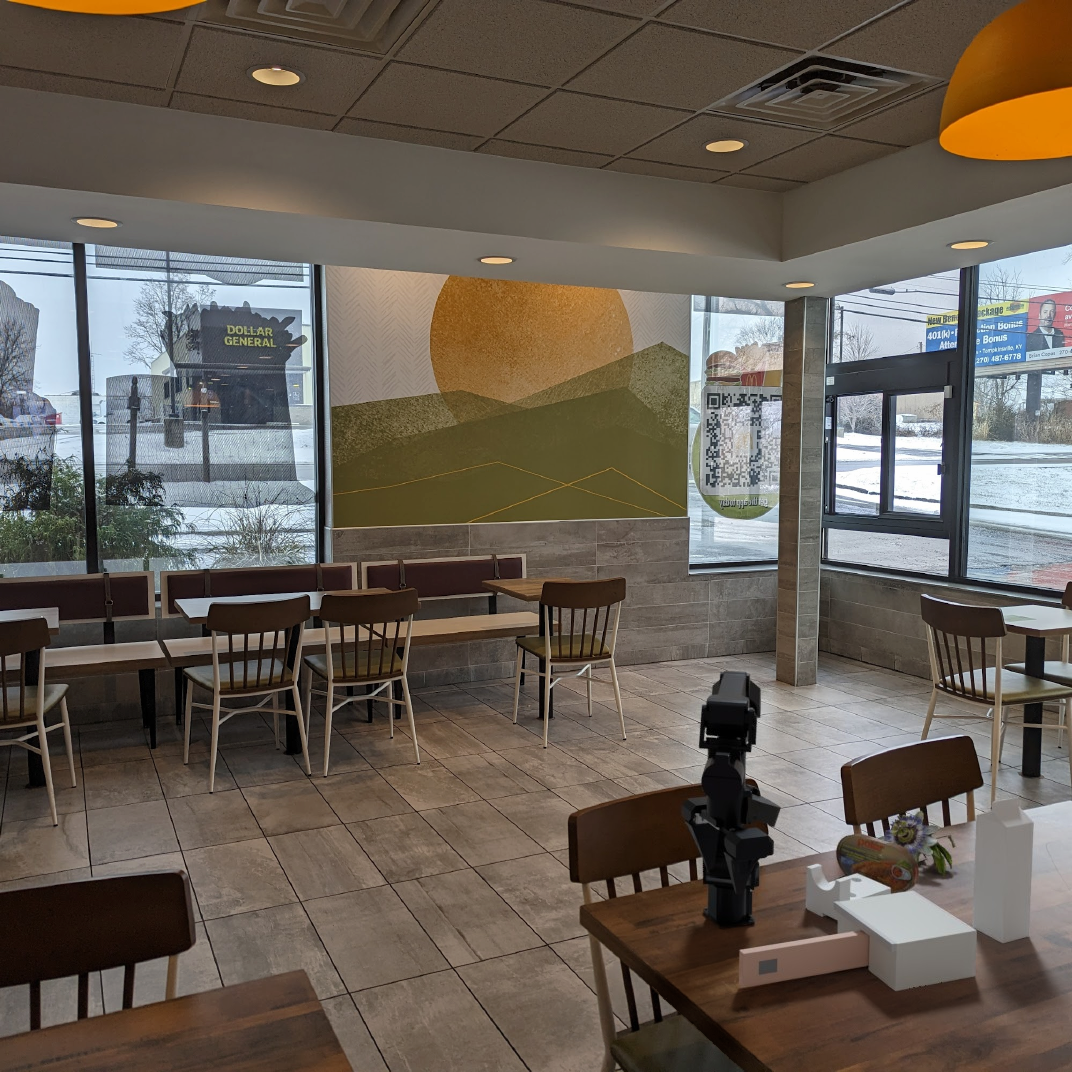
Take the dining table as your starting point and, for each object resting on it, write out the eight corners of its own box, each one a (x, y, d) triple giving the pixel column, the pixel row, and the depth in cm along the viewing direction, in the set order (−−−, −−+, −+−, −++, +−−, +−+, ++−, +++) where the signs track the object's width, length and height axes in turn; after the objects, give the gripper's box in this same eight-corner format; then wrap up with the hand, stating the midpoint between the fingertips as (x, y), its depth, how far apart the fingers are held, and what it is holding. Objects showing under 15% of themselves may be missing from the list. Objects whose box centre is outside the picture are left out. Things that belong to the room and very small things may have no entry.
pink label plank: (743, 987, 137) (743, 954, 137) (738, 983, 138) (739, 949, 138) (873, 964, 144) (874, 932, 143) (868, 960, 145) (869, 928, 144)
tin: (834, 873, 177) (835, 829, 177) (843, 869, 179) (845, 825, 179) (911, 901, 166) (912, 854, 165) (920, 896, 168) (921, 849, 167)
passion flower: (900, 895, 181) (863, 837, 184) (928, 869, 188) (892, 814, 191) (945, 880, 172) (906, 819, 176) (973, 854, 179) (935, 796, 183)
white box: (890, 992, 137) (892, 944, 137) (832, 945, 150) (833, 901, 150) (975, 976, 141) (976, 929, 141) (911, 932, 155) (913, 889, 154)
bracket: (838, 926, 157) (840, 882, 157) (805, 910, 163) (806, 866, 163) (890, 908, 164) (891, 865, 164) (856, 892, 170) (857, 851, 170)
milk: (1029, 937, 154) (1036, 803, 152) (1002, 944, 151) (1008, 808, 150) (997, 920, 159) (1003, 791, 158) (970, 927, 157) (976, 795, 155)
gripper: (807, 795, 138) (804, 900, 140) (742, 758, 156) (740, 851, 157) (738, 802, 135) (736, 910, 136) (680, 764, 153) (679, 859, 154)
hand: (724, 880), depth 146 cm, fingers open, 9 cm apart
